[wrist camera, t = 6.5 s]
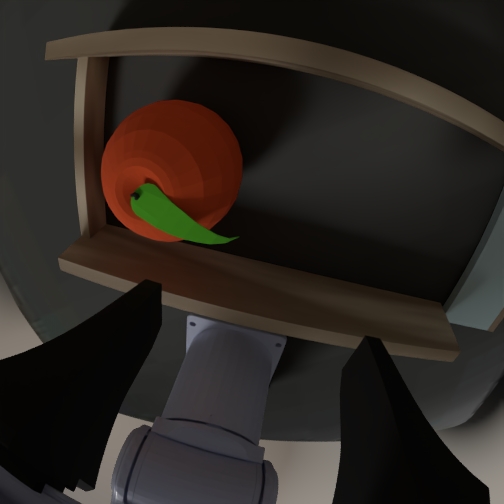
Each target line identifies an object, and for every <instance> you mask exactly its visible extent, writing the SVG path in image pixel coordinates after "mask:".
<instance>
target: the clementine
mask: <svg viewBox="0 0 504 504" xmlns="http://www.w3.org/2000/svg"><path fill="white" fill-rule="evenodd" d="M242 170H243V158H242V154H241V151H240V147H239V143H238V140H237V139H236V137H235V135H234V133H233V132H232V130H231V128H230V127H229V125H228V124H227V123H226V122H225V121H224V120H223V119H222V118H221V117H220V116H219V115H218V114H217V113H215V112H213V111H212V110H210V109H208V108H206V107H204V106H203V105H201V104H197V103H192V102H188V101H183V100H164V101H157V102H155V103H152V104H150V105H147V106H145V107H142V108H140V109H138V110H136V111H134V112H133V113H132V114H131V115H129V116H128V117H127V118H126V119H124V120H123V121H122V122H121V123H120V125H119V126H118V127H117V129H116V130H115V132H114V133H113V135H112V136H111V138H110V139H109V141H108V143H107V145H106V148H105V151H104V154H103V157H102V164H101V181H102V187H103V193H104V196H105V198H106V201H107V203H108V206H109V207H110V209H111V210H112V212H113V213H114V215H115V216H116V218H117V219H118V220H119V221H120V222H121V223H123V224H124V225H125V226H126V227H127V228H129V229H130V230H132V231H133V232H135V233H137V234H139V235H142V236H144V237H147V238H150V239H153V240H156V241H165V242H174V241H180V240H189V241H193V242H198V243H204V244H222V243H227V242H229V241H232V240H234V239H236V238H238V237H239V236H237V237H232V238H227V237H224V236H221V235H217V234H216V233H214V232H212V231H210V229H211V228H212V227H213V226H214V225H215V224H216V223H218V222H219V221H220V220H221V219H222V218H223V217H224V216H225V215H226V214H227V213H228V211H229V210H230V208H231V207H232V205H233V203H234V202H235V200H236V198H237V195H238V191H239V188H240V184H241V180H242Z"/></svg>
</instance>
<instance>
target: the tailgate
mask: <svg viewBox="0 0 504 504" xmlns="http://www.w3.org/2000/svg"><path fill="white" fill-rule="evenodd" d="M443 309H444V312H445V314H446V316H447V319H448V321H449V322H450V323H454V324H459V325H464V326H469V327H473V328H478V329H483V330H487V331H491V332H493V331H494V330H495V328H496V327H497V326H498V324H499V323H500V322H501V320H502V319H503V317H504V187H503V190H502V192H501V195H500V197H499V200H498V202H497V205H496V207H495V209H494V212H493V214H492V216H491V219H490V221H489V223H488V225H487V227H486V230H485V232H484V234H483V236H482V238H481V240H480V242H479V244H478V246H477V248H476V250H475V252H474V254H473V256H472V258H471V259H470V261H469V263H468V265H467V267H466V269H465V270H464V272H463V274H462V276H461V277H460V279H459V281H458V283H457V284H456V286H455V288H454V289H453V291H452V293H451V294H450V296H449V298H448V299H447V301H446V302H445V304H444V305H443Z"/></svg>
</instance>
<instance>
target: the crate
mask: <svg viewBox="0 0 504 504" xmlns="http://www.w3.org/2000/svg"><path fill="white" fill-rule="evenodd" d="M140 55H167V56H193V57H207V58H218V59H228V60H237V61H244V62H252V63H258V64H264V65H270V66H276V67H281V68H287V69H292V70H296V71H301V72H305V73H310V74H314V75H318V76H322V77H326V78H330V79H334V80H337V81H341V82H344V83H348V84H351V85H355V86H358V87H361V88H364V89H367V90H370V91H373V92H376V93H379V94H382V95H385V96H388V97H390V98H393V99H396V100H399V101H401V102H404V103H406V104H409V105H411V106H414V107H416V108H419V109H421V110H423V111H426V112H428V113H430V114H432V115H435V116H437V117H439V118H441V119H443V120H446V121H448V122H450V123H452V124H454V125H456V126H458V127H460V128H462V129H464V130H466V131H468V132H470V133H471V134H473V135H475V136H477V137H479V138H481V139H482V140H484V141H486V142H488V143H489V144H491V145H493V146H495V147H496V148H498V149H500V150H501V151H503V152H504V122H503V121H501V120H500V119H498V118H497V117H495V116H493V115H492V114H490V113H489V112H487V111H485V110H484V109H482V108H480V107H479V106H477V105H475V104H473V103H471V102H470V101H468V100H466V99H464V98H462V97H460V96H459V95H457V94H455V93H453V92H451V91H449V90H447V89H445V88H443V87H441V86H439V85H437V84H434V83H432V82H430V81H428V80H426V79H423V78H421V77H419V76H416V75H414V74H412V73H409V72H407V71H404V70H402V69H399V68H397V67H394V66H391V65H389V64H386V63H383V62H380V61H377V60H375V59H372V58H369V57H365V56H362V55H359V54H356V53H353V52H349V51H346V50H342V49H338V48H335V47H331V46H327V45H323V44H319V43H314V42H310V41H305V40H301V39H296V38H290V37H285V36H279V35H273V34H266V33H259V32H252V31H243V30H233V29H220V28H202V27H154V28H137V29H125V30H115V31H106V32H99V33H92V34H86V35H80V36H75V37H69V38H64V39H60V40H55V41H51V42H47V45H46V54H45V60H55V59H70V58H78V64H77V74H76V88H75V108H74V156H75V177H76V191H77V202H78V212H79V220H80V228H81V237H80V238H79V239H78V240H77V241H76V242H74V243H73V244H72V245H71V246H70V247H69V248H68V249H67V250H66V251H64V252H63V253H62V254H61V255H60V256H59V257H58V260H59V264H60V269H61V270H62V271H65V272H68V273H70V274H73V275H76V276H79V277H81V278H84V279H87V280H90V281H93V282H96V283H98V284H101V285H104V286H107V287H110V288H113V289H116V290H119V291H122V292H126V293H127V292H128V291H129V290H131V289H132V288H133V287H135V286H136V285H138V284H139V283H140V282H142V281H143V280H145V279H148V280H151V281H154V282H158V283H161V284H162V304H164V305H168V306H171V307H175V308H178V309H182V310H185V311H189V312H192V313H196V314H200V315H203V316H207V317H211V318H215V319H219V320H223V321H226V322H230V323H234V324H239V325H243V326H247V327H251V328H255V329H259V330H264V331H268V332H273V333H277V334H282V335H286V336H291V337H296V338H301V339H306V340H311V341H316V342H321V343H326V344H331V345H337V346H342V347H348V348H354V349H356V348H357V347H358V345H359V344H360V342H361V341H362V339H363V338H364V336H365V335H366V336H371V337H376V338H380V339H381V341H382V342H383V344H384V346H385V348H386V349H387V351H388V353H389V354H392V355H399V356H407V357H414V358H422V359H431V360H440V361H449V362H453V361H454V359H455V358H456V357H457V356H458V355H459V353H460V349H459V346H458V343H457V341H456V338H455V336H454V333H453V331H452V328H451V326H450V323H449V321H448V319H447V316H446V314H445V312H444V309H443V307H442V305H441V303H439V302H435V301H430V300H426V299H422V298H417V297H413V296H408V295H404V294H400V293H395V292H391V291H386V290H382V289H378V288H373V287H369V286H365V285H360V284H356V283H351V282H347V281H343V280H338V279H334V278H330V277H326V276H321V275H317V274H313V273H308V272H304V271H300V270H296V269H291V268H287V267H283V266H279V265H274V264H270V263H266V262H262V261H257V260H253V259H249V258H245V257H240V256H236V255H232V254H228V253H224V252H219V251H215V250H211V249H207V248H203V247H199V246H194V245H190V244H186V243H182V242H178V241H174V242H165V241H156V240H153V239H150V238H147V237H144V236H142V235H139V234H137V233H135V232H133V231H132V230H129V229H124V228H120V227H116V226H112V225H108V224H106V210H105V196H104V193H103V187H102V181H101V164H102V157H103V154H104V117H105V99H106V86H107V76H108V66H109V58H110V57H116V56H140Z"/></svg>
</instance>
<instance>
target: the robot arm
mask: <svg viewBox="0 0 504 504" xmlns="http://www.w3.org/2000/svg"><path fill="white" fill-rule="evenodd" d="M193 322H194V323H193ZM161 325H162V284H161V283H158V282H154V281H151V280H148V279H145V280H143V281H142V282H140V283H139V284H138V285H136V286H135V287H133V288H132V289H131V290H129V291H128V292H127V293H125V294H124V295H122V296H121V297H120V298H118V299H117V300H115V301H114V302H113V303H111V304H110V305H108V306H107V307H105V308H104V309H102V310H101V311H100V312H98V313H97V314H95V315H94V316H92V317H90V318H89V319H87V320H86V321H84V322H82V323H81V324H79V325H78V326H76V327H74V328H73V329H71V330H69V331H67V332H66V333H64V334H62V335H60V336H58V337H56V338H54V339H52V340H50V341H48V342H46V343H44V344H42V345H39V346H37V347H35V348H32V349H30V350H28V351H26V352H23V353H20V354H17V355H14V356H11V357H8V358H5V359H2V360H0V504H81V503H80V502H78V501H76V500H74V499H72V498H70V497H68V496H67V495H65V494H63V491H64V489H65V487H66V488H67V489H69V490H71V491H73V492H74V491H75V488H76V487H78V488H80V489H82V490H84V491H90V490H93V489H95V485H96V481H97V477H98V473H99V468H100V465H101V461H102V458H103V455H104V451H105V448H106V445H107V441H108V438H109V436H110V433H111V430H112V427H113V424H114V422H115V419H116V417H117V414H118V412H119V409H120V407H121V404H122V402H123V400H124V398H125V396H126V394H127V392H128V390H129V388H130V387H131V385H132V383H133V381H134V379H135V378H136V376H137V374H138V372H139V370H140V369H141V367H142V365H143V363H144V361H145V360H146V358H147V356H148V354H149V352H150V351H151V349H152V347H153V344H154V342H155V340H156V337H157V335H158V332H159V330H160V327H161ZM286 340H287V337H286V336H285V335H282V334H277V333H273V332H268V331H264V330H259V329H255V328H251V327H247V326H243V325H239V324H234V323H230V322H226V321H223V320H219V319H215V318H211V317H207V316H203V315H200V314H196V313H192V312H191V313H189V314H188V317H187V340H186V356H185V359H184V361H183V364H182V366H181V369H180V371H179V374H178V376H177V379H176V381H175V384H174V386H173V389H172V391H171V394H170V396H169V399H168V401H167V404H166V406H165V409H164V411H163V414H162V416H161V417H158V416H157V417H156V419H155V421H154V424H153V426H152V427H150V426H147V425H142V426H141V427H139V428H136V429H134V430H133V431H132V432H131V433H130V434H129V435H128V437H127V439H126V441H125V443H124V444H123V446H122V449H121V451H120V453H119V456H118V458H117V461H116V464H115V468H114V471H113V475H112V482H111V488H112V499H111V504H276V500H277V494H278V476H277V473H276V471H275V469H274V468H273V465H272V463H271V462H270V461H267V460H263V456H264V451H265V448H264V447H260V446H258V445H259V440H260V434H261V428H262V423H263V417H264V411H265V405H266V399H267V393H268V387H269V383H270V381H271V378H272V376H273V374H274V371H275V369H276V366H277V364H278V362H279V359H280V357H281V354H282V352H283V349H284V347H285V344H286ZM278 343H280V344H278ZM340 419H341V453H340V463H339V471H338V477H337V483H336V488H335V494H334V498H333V503H332V504H490V496H489V488H488V487H487V486H486V485H485V484H484V483H482V482H481V481H480V480H479V479H478V478H477V477H475V476H474V475H473V474H472V473H471V472H470V471H469V470H468V469H467V468H466V467H465V466H464V465H463V464H462V463H461V462H460V461H459V460H458V459H457V458H456V457H455V456H454V455H453V454H452V452H451V451H450V450H449V449H448V447H447V446H446V445H445V444H444V443H443V441H442V440H441V439H440V438H439V436H438V435H437V434H436V432H435V431H434V429H433V428H432V426H431V425H430V424H429V422H428V421H427V419H426V418H425V416H424V415H423V413H422V411H421V410H420V408H419V407H418V405H417V403H416V402H415V400H414V398H413V397H412V395H411V393H410V391H409V390H408V388H407V386H406V384H405V382H404V381H403V379H402V377H401V375H400V373H399V371H398V370H397V368H396V366H395V364H394V362H393V360H392V358H391V357H390V355H389V353H388V351H387V349H386V348H385V346H384V344H383V342H382V341H381V339H380V338H376V337H371V336H366V335H365V336H364V338H363V339H362V341H361V342H360V344H359V345H358V347H357V348H356V350H355V351H354V353H353V354H352V356H351V357H350V359H349V360H348V362H347V363H346V365H345V366H344V367H343V369H342V377H341V387H340Z"/></svg>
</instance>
